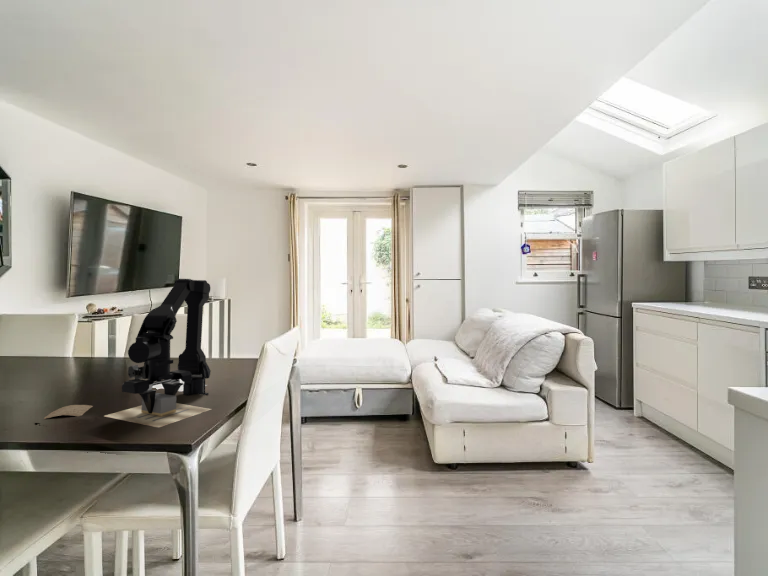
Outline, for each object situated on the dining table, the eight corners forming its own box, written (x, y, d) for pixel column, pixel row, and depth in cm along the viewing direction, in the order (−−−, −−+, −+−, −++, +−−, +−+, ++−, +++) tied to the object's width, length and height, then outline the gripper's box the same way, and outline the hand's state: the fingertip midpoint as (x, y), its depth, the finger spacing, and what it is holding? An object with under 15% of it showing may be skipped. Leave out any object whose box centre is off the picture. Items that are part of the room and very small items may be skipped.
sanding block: (156, 407, 127) (157, 392, 127) (176, 411, 124) (176, 395, 124) (141, 412, 123) (141, 396, 123) (161, 416, 120) (161, 400, 119)
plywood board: (159, 404, 136) (159, 400, 136) (211, 413, 127) (212, 409, 127) (103, 420, 120) (103, 415, 120) (158, 432, 111) (158, 427, 111)
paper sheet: (210, 388, 158) (210, 386, 158) (121, 407, 136) (121, 404, 136) (184, 378, 174) (184, 375, 174) (101, 393, 153) (101, 390, 153)
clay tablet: (102, 411, 130) (102, 402, 130) (92, 421, 120) (92, 411, 120) (45, 416, 125) (45, 406, 125) (30, 427, 115) (30, 417, 115)
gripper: (167, 350, 135) (167, 399, 135) (108, 359, 118) (108, 415, 118) (193, 353, 131) (192, 403, 131) (136, 363, 114) (135, 421, 114)
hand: (158, 410), depth 123 cm, fingers closed on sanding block, 5 cm apart
